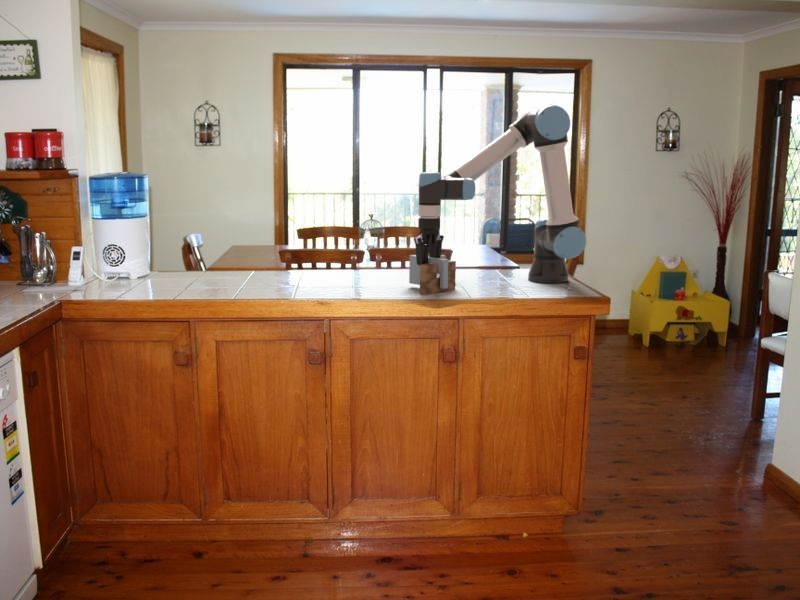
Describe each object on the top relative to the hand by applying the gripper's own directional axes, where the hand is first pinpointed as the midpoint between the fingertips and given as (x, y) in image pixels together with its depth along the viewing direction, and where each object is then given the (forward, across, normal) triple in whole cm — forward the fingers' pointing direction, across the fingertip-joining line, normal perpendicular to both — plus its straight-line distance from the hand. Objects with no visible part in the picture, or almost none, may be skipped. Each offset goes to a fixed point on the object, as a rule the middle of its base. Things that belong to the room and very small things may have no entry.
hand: (428, 284), depth 267 cm
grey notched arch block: (+1, 0, 0) cm, 1 cm away
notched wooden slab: (+2, 0, +4) cm, 5 cm away
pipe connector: (+2, -16, -8) cm, 18 cm away
